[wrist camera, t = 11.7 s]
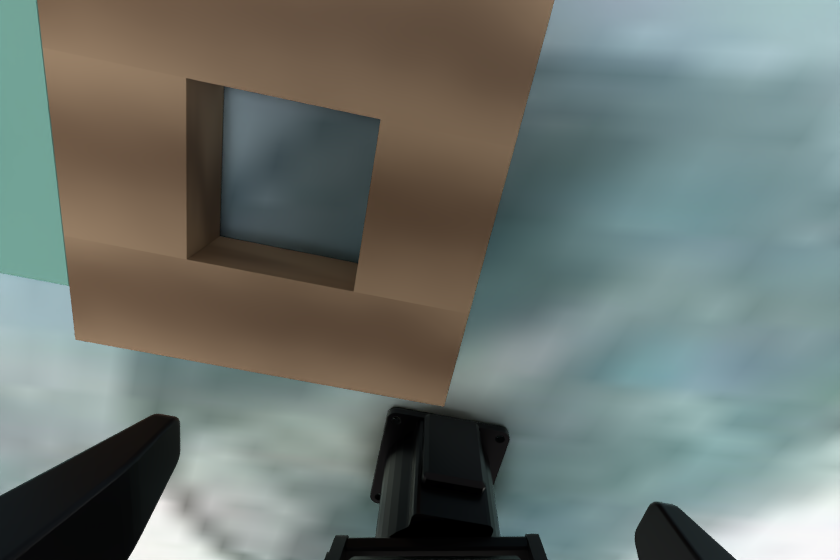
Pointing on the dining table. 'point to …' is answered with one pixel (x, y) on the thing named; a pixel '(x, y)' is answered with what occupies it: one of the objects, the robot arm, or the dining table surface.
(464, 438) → the robot arm
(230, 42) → the socket block
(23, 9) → the teal mat
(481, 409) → the dining table surface
